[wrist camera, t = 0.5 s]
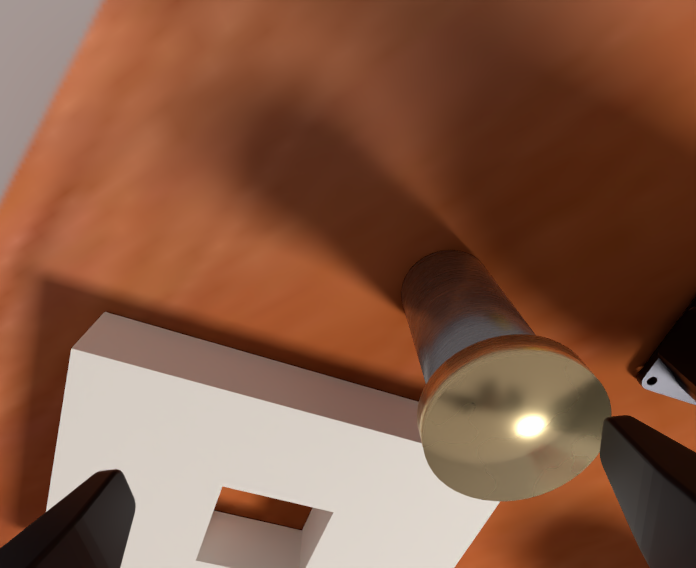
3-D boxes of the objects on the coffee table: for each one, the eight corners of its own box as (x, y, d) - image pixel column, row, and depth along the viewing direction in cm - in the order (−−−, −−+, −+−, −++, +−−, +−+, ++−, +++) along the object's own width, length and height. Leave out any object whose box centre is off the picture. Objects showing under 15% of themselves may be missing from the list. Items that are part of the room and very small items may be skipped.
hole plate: (500, 425, 25) (521, 470, 22) (384, 608, 31) (389, 661, 28) (104, 311, 21) (71, 348, 18) (62, 543, 27) (32, 596, 25)
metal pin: (525, 259, 21) (649, 386, 13) (471, 354, 23) (549, 517, 15) (416, 220, 20) (475, 329, 12) (370, 322, 22) (393, 477, 14)
